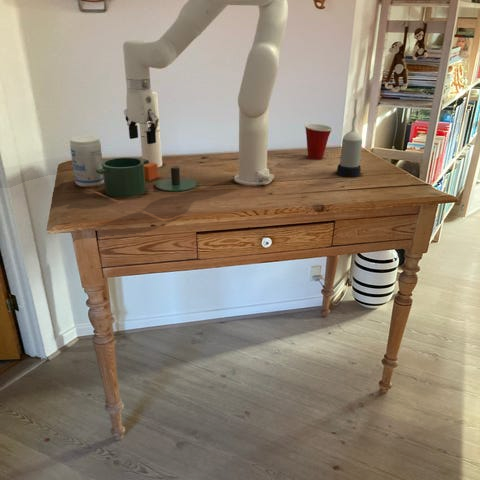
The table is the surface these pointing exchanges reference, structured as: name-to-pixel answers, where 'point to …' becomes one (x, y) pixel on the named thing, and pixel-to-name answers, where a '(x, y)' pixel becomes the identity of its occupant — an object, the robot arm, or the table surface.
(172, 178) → the lid
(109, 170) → the green cooking pot
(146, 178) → the block
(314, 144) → the plastic cup
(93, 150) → the supplement tub
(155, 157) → the cylindrical container
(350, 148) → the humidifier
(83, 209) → the table surface
